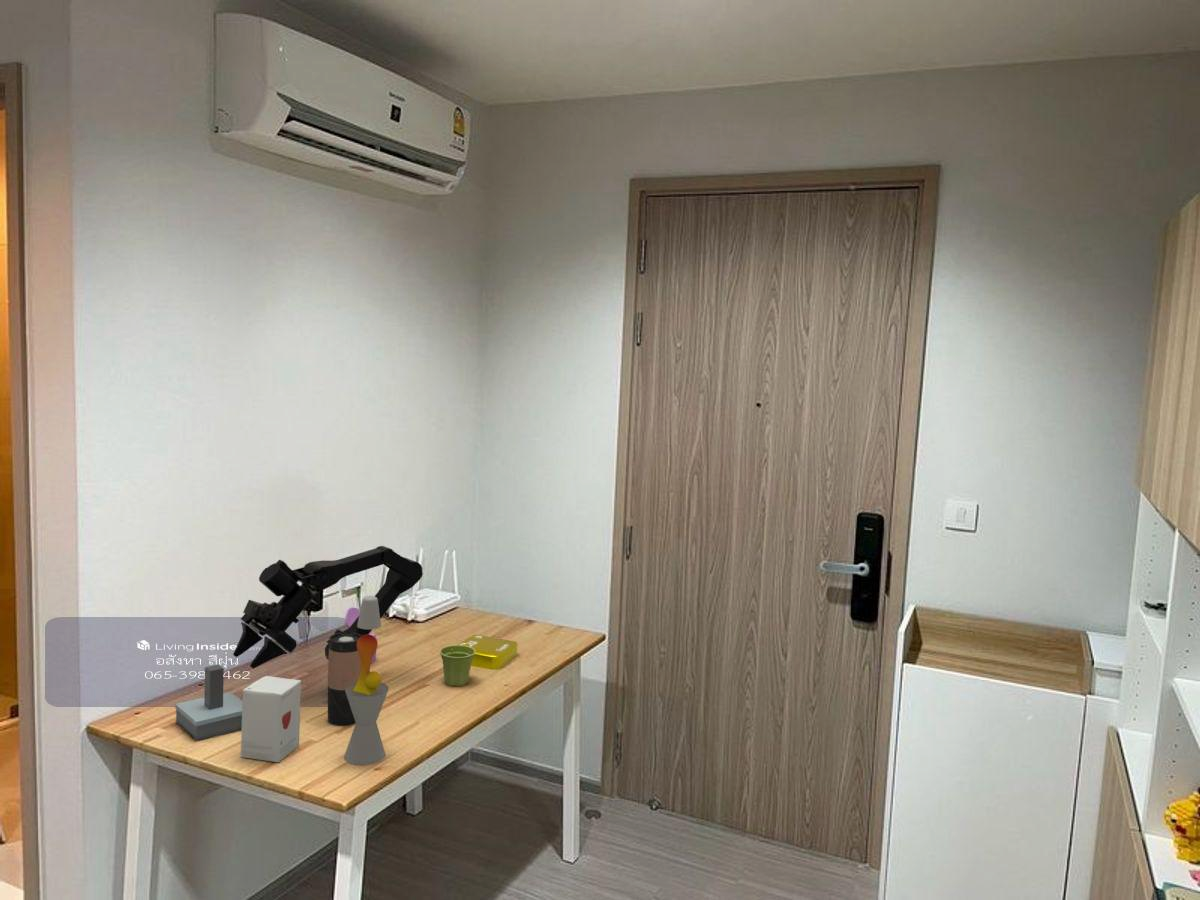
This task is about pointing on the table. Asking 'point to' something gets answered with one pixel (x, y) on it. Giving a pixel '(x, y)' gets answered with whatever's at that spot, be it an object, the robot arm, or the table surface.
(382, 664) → the table surface
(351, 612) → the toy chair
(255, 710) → the supplement box
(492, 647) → the element tile
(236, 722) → the storage box
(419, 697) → the table surface
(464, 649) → the plant pot
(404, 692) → the table surface
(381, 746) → the lava lamp
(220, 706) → the slate lid
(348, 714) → the travel mug
